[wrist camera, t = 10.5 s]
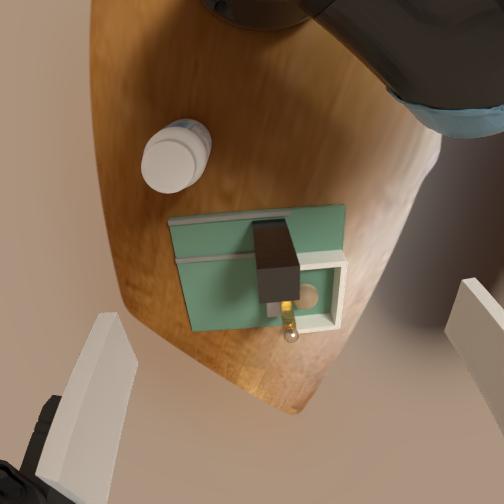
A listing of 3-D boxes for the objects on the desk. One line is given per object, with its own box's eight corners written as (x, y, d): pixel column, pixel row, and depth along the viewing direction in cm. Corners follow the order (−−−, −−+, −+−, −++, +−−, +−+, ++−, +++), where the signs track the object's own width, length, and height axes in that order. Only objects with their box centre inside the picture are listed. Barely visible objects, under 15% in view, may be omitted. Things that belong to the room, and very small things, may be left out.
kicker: (252, 220, 39) (256, 269, 30) (288, 218, 39) (304, 265, 30) (258, 308, 46) (263, 366, 36) (289, 305, 46) (301, 362, 36)
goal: (292, 251, 43) (296, 265, 40) (340, 247, 43) (347, 260, 40) (292, 318, 48) (295, 333, 45) (334, 313, 48) (339, 328, 45)
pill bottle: (155, 161, 36) (125, 191, 26) (169, 112, 33) (141, 124, 24) (203, 175, 37) (191, 210, 28) (220, 126, 35) (212, 144, 25)
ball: (317, 295, 41) (320, 279, 44) (289, 292, 42) (294, 276, 45) (315, 316, 42) (319, 300, 45) (289, 313, 43) (294, 297, 46)
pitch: (169, 217, 40) (167, 221, 39) (343, 204, 40) (346, 207, 39) (193, 328, 49) (192, 333, 48) (334, 316, 49) (336, 321, 48)
